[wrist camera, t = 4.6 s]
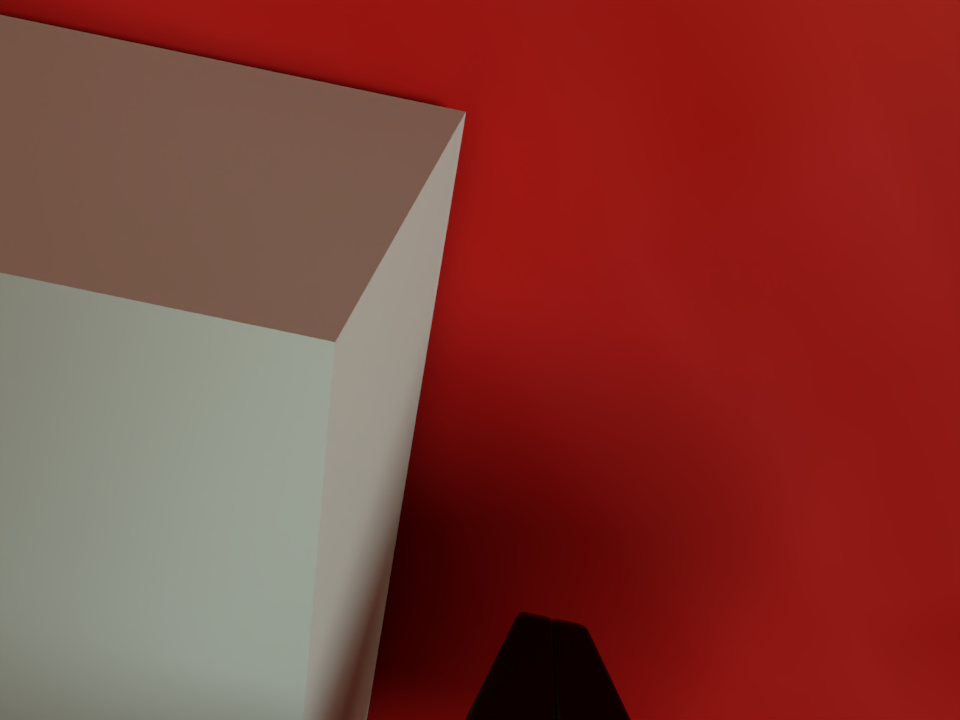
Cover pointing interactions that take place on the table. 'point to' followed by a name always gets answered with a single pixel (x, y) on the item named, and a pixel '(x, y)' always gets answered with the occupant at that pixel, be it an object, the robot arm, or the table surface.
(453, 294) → the table surface
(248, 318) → the block
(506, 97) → the table surface
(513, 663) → the robot arm
